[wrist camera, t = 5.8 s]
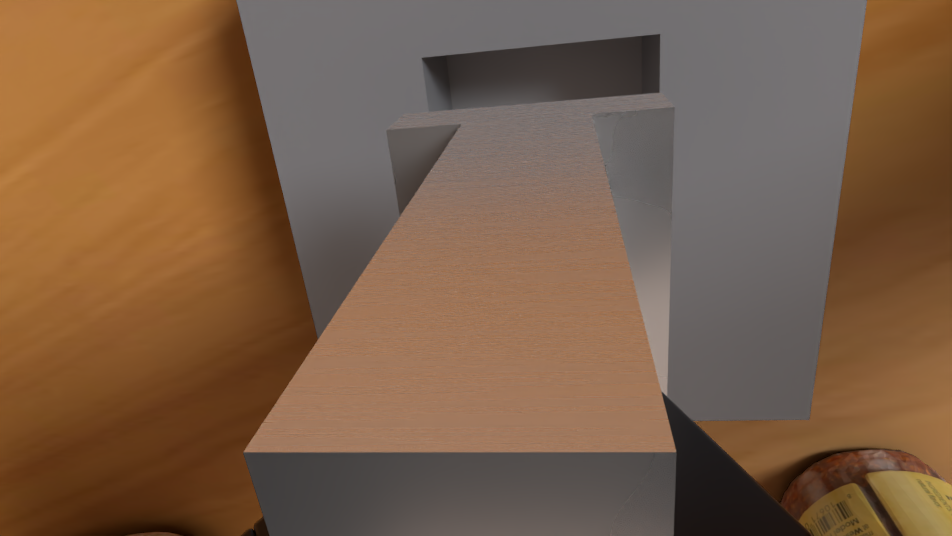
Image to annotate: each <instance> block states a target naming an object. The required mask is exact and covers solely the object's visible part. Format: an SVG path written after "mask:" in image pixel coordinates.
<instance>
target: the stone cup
mask: <svg viewBox="0 0 952 536" xmlns="http://www.w3.org/2000/svg"><path fill="white" fill-rule="evenodd" d="M125 536H182V535H178V534H174V533H169V532H150V533H139V534H131V535H125Z"/></svg>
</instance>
